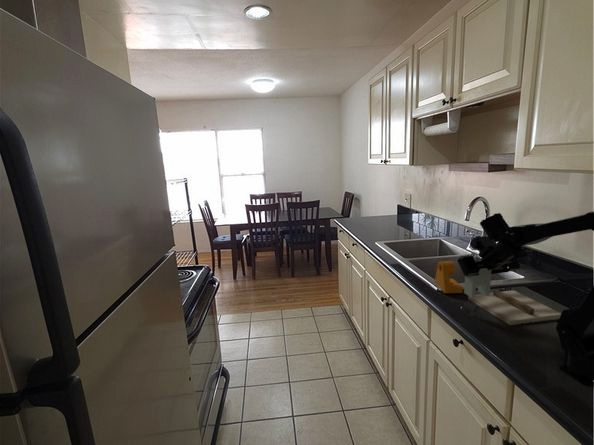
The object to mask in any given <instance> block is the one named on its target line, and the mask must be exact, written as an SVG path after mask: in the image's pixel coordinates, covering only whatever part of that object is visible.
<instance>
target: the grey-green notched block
mask: <svg viewBox="0 0 594 445" xmlns="http://www.w3.org/2000/svg"><path fill="white" fill-rule="evenodd" d="M464 276H465V275H464ZM491 280H492V274H491V270H488V269H480V271H479V275H477V276H470V277H466V276H465V277H464V288H463V293H464V294H465V295H467V297H468V296H470V297H472V298H473V297H475V295H477V294H476V293H477V292H478V293H479V294H483V295H485V296H489V295H490V293H491V282H492V281H491ZM476 290H477V292H476Z"/></svg>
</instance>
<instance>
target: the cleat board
mask: <svg viewBox="0 0 594 445" xmlns="http://www.w3.org/2000/svg"><path fill="white" fill-rule="evenodd" d="M467 297H468V298H467V299H468V300H469V301H470V302H472V303H474V304H475V305H477V306H478V307H480V308H482V309H483V310H485V311H486V312H488V313H490V314H492V315H493V316H495V317H496V318H497V319H499V320H501V321H503V322H504V323H505V324H507V325H509V326H513V325H515V326H516V325H522V324H521V323H523V324H529V323H530V322H531V323H536V322H537V323H538V322H546V321H553V320H558V319H559V318H560V316H561V313H562V312H559V311H557V310H554V309H552V308H550V307H549V306H547V305H545V304H543V303H541V302H538V301H536V300H534V299H532V298H531V297H528V296H526V295H524V294H522V293H519V292H518V291H516V290H514V289H513V290H505V291H501V290H499V289H494V290H493V292H490V295H489V296H485V295H483V294H482V293H479V294H475V297H473V298H472V297H470V296H468V295H467Z"/></svg>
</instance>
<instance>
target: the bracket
mask: <svg viewBox="0 0 594 445" xmlns="http://www.w3.org/2000/svg"><path fill="white" fill-rule="evenodd" d="M455 272H456V266H455V263H454V261H453V260H445V261H443V260H441V261H438V264H437V268H436V274H435V279H434V283H435V282H436V283H437V284H438V285H439V286H440V287H441V288H442V291H443V292H442V293H444V294H463V293H464V288H463V286H462V285H461V284H460V283H459V282H458V281H456V279H454V278H451V277H450V276H451V275H453V276H454V275H455ZM436 283H435V284H436ZM437 284H436V285H437Z"/></svg>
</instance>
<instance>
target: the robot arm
mask: <svg viewBox="0 0 594 445" xmlns="http://www.w3.org/2000/svg"><path fill="white" fill-rule="evenodd" d="M479 225H480V227H481V228H482V230H483V231H484V232H485V234H486V235H483V236H481V235H479V236H476V237H473V238H472V239H471V240H470V242H469V246H471V248H472V249H473V250H477V251H478V254H477V255H478V256H479V258H480V261H476V260H475V258H474V256H473V255H469V254H468V255H461V256H460V257H458V258H457V263H458V265H459V267H460V269H461V270H460V271H462V274H463V275H464V276H466V277H470V276H477V275H479V271H480V269H488V270H491V275H496V274H504V273H509V272H516V271H518V270H520V268H521V263H520V261H519V259H523V258H524V259H525V258H527V257H528V252H527V249H526V248H524V246H532V245H536V244H539V243H543V242H544V241H547V240H550V239H551V238H553V237H557V236H562V235H569V234H574V233H578V232H583V231H590V230H591V231H593V232H594V211H589V212H587V213H584V214H580V215H576V216H571V217H567V218H563V219H558V220H555V221H554V220H553V221H549V222H545V223H530V224H529V223H528V224H520V225H513V226H509V224H508V223H507V222H506V219H505V218H504V216H503V215H502V214H501V213H500V212H498V213H497V212H496V213H494V214H492V215H491V216H489V217H488V216H487V217H486V218H483V219H481V221H480V222H479ZM496 242H497V243H496ZM560 313H561V316H560V318H559V319H555V323H557V324H556V326H555V331H556V333H557V334H558V339H559V342H560V346H561V347H560V348H561V349H562V350H563V351H564V354H563V360H562V361H563V362H562V363H563V364H559V365H558V369H560V370H561V371H563V372H564V373H566V374H567V375H569V376H571V377H572V378H573V379H575V380H577V381H578V382H580V383H581V384H583V385H586V384H591V383H590V382H592V381H593V380H594V285H593V286H592V287H591V289H590V290H589V292H588V293H587V295H586V296H585V297H584V299H583V300H582V302H581V303H580V305H579V306H576V307H572V308H566V309H563V310H562V312H560Z"/></svg>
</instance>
